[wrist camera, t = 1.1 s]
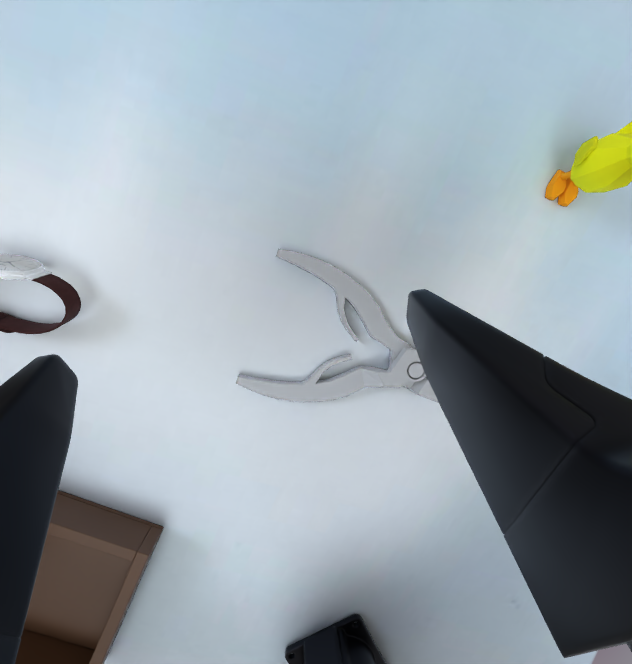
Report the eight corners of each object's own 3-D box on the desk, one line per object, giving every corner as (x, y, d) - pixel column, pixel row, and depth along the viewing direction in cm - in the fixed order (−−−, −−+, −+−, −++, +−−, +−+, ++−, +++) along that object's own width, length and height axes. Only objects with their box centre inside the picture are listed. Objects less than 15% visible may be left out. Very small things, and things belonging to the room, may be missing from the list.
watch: (94, 273, 23) (58, 272, 20) (80, 343, 24) (43, 353, 20) (-33, 240, 22) (-94, 232, 19) (-44, 313, 23) (-106, 319, 19)
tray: (164, 526, 26) (149, 555, 23) (106, 658, 27) (85, 700, 24) (-76, 443, 24) (-123, 464, 21) (-128, 589, 25) (-179, 627, 22)
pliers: (279, 243, 22) (494, 318, 24) (279, 246, 24) (481, 316, 26) (232, 390, 23) (441, 452, 25) (236, 383, 25) (432, 442, 27)
